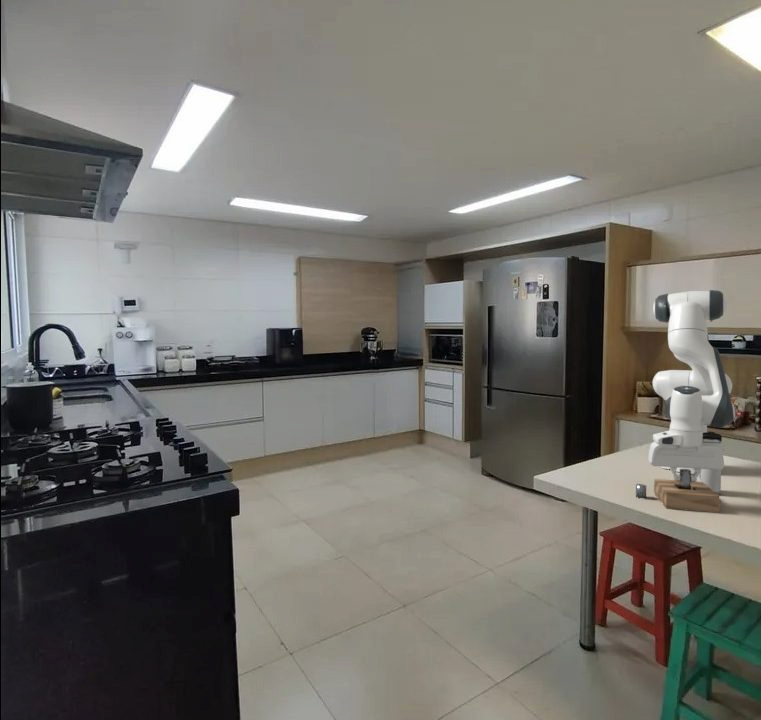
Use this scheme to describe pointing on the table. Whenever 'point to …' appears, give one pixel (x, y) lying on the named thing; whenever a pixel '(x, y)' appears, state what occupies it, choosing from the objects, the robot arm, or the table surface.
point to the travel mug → (709, 475)
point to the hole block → (686, 496)
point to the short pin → (640, 491)
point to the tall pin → (685, 479)
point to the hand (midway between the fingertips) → (684, 481)
